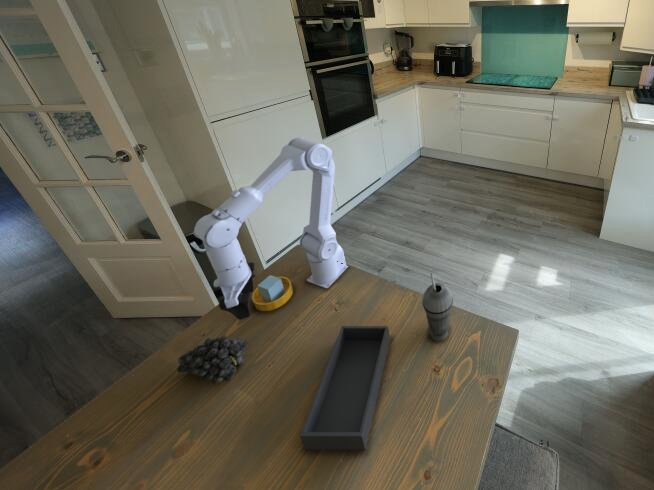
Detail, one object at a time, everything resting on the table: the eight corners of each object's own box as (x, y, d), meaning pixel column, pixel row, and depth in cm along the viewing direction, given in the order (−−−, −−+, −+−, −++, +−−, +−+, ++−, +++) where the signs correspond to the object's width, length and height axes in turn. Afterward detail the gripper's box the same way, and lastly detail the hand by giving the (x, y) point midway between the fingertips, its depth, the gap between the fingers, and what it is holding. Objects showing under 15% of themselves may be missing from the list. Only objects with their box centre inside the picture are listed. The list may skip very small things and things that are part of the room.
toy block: (275, 288, 90) (270, 274, 88) (285, 292, 89) (280, 278, 86) (262, 299, 87) (257, 285, 84) (273, 304, 85) (267, 289, 83)
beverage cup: (449, 349, 75) (448, 289, 67) (420, 343, 76) (415, 284, 68) (456, 322, 81) (455, 264, 73) (429, 317, 83) (426, 260, 74)
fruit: (157, 350, 65) (225, 354, 64) (194, 324, 73) (254, 327, 72) (161, 388, 66) (228, 392, 65) (197, 358, 74) (257, 361, 73)
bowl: (276, 280, 93) (274, 273, 92) (300, 289, 90) (298, 282, 89) (247, 305, 85) (243, 298, 84) (272, 316, 82) (269, 309, 81)
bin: (345, 339, 77) (341, 325, 75) (390, 339, 77) (388, 326, 75) (305, 450, 58) (299, 436, 56) (365, 450, 58) (361, 436, 56)
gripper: (214, 247, 74) (231, 288, 80) (199, 292, 62) (220, 337, 68) (248, 238, 77) (263, 278, 82) (240, 280, 65) (258, 323, 71)
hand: (246, 304), depth 75 cm, fingers open, 7 cm apart
